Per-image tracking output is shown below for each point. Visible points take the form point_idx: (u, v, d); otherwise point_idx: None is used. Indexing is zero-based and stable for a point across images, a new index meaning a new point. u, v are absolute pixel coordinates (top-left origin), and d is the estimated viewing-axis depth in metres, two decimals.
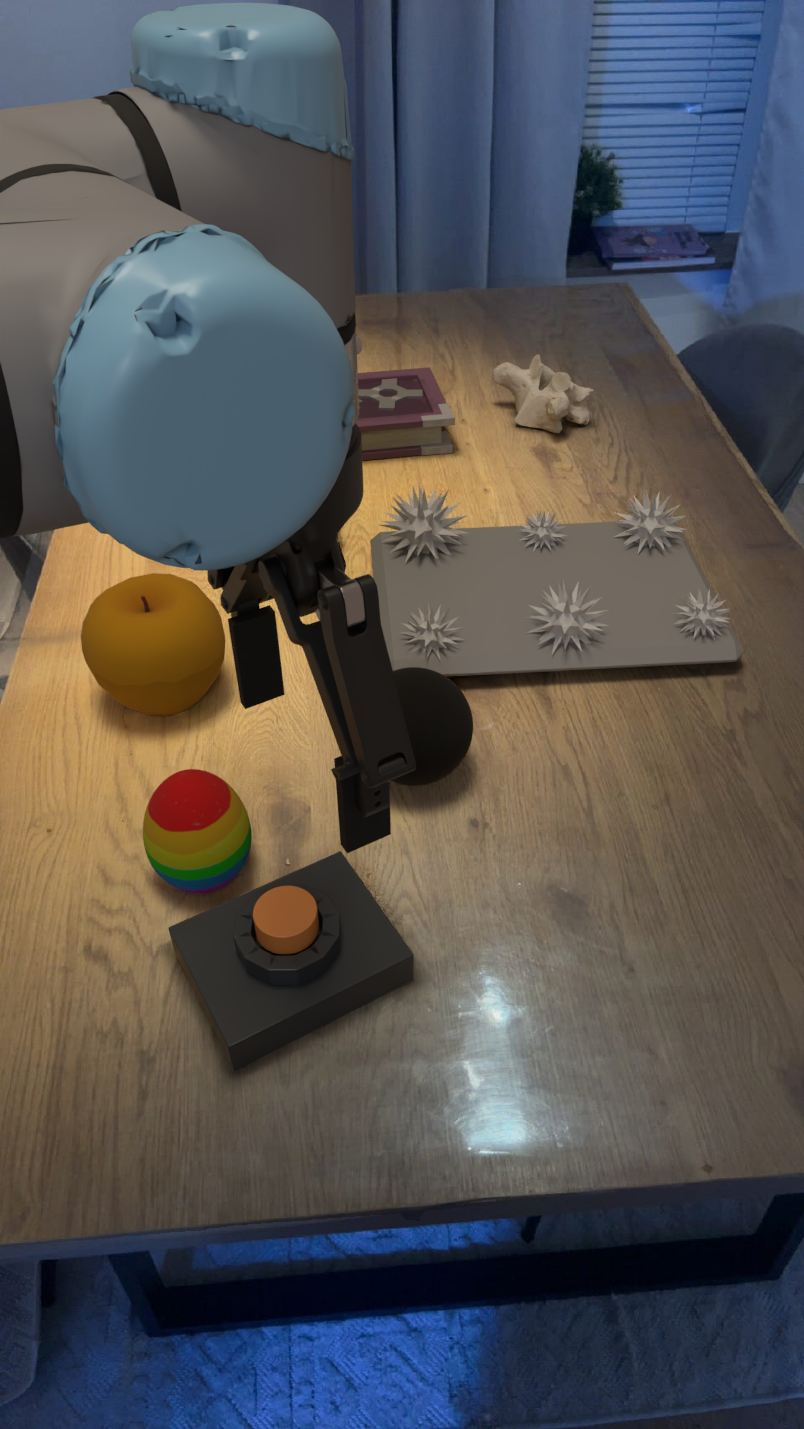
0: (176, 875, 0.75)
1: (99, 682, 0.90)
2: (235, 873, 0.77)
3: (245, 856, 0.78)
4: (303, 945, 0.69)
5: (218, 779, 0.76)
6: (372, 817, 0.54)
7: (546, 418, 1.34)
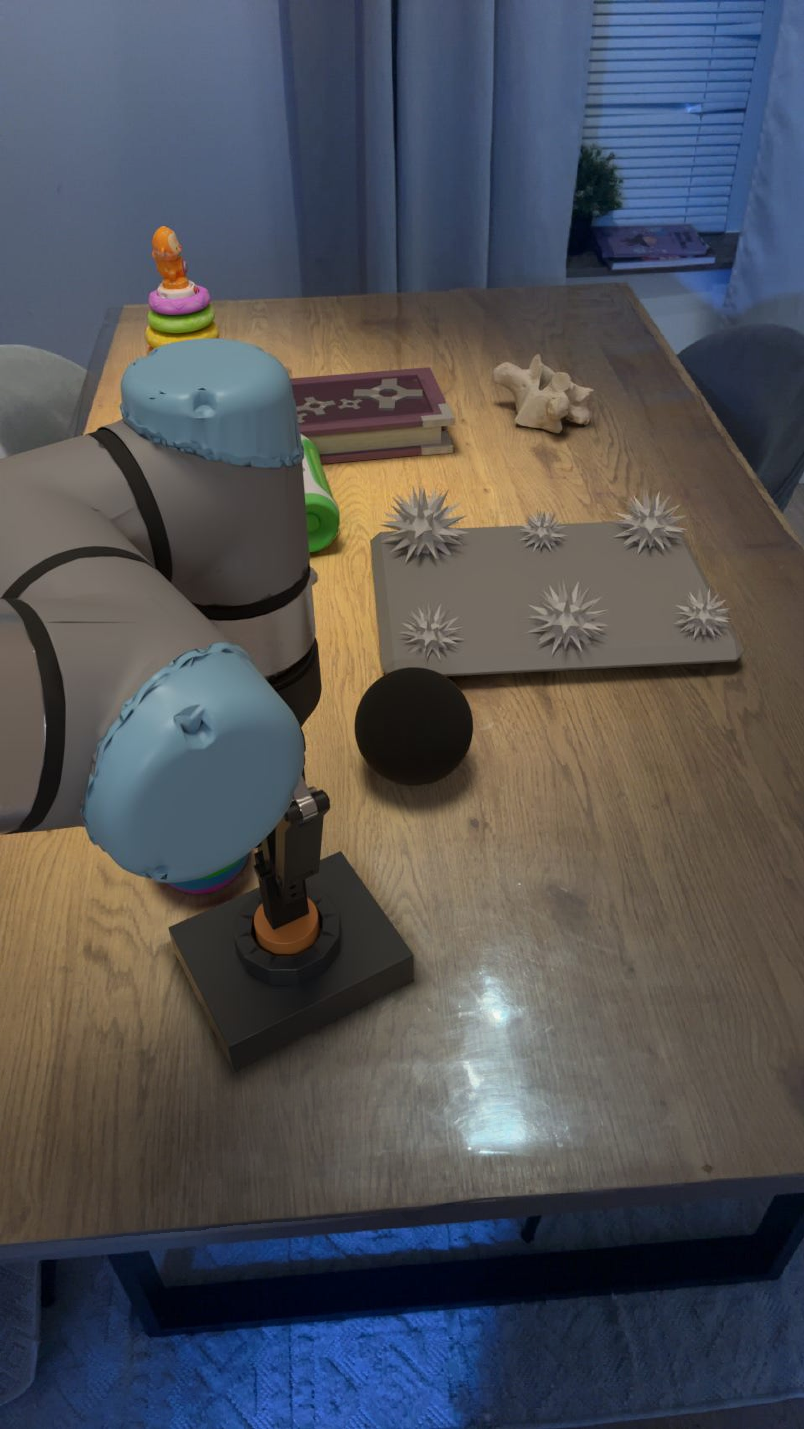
0: None
1: None
2: (235, 873, 0.77)
3: (245, 856, 0.78)
4: None
5: None
6: (292, 902, 0.68)
7: (546, 418, 1.34)
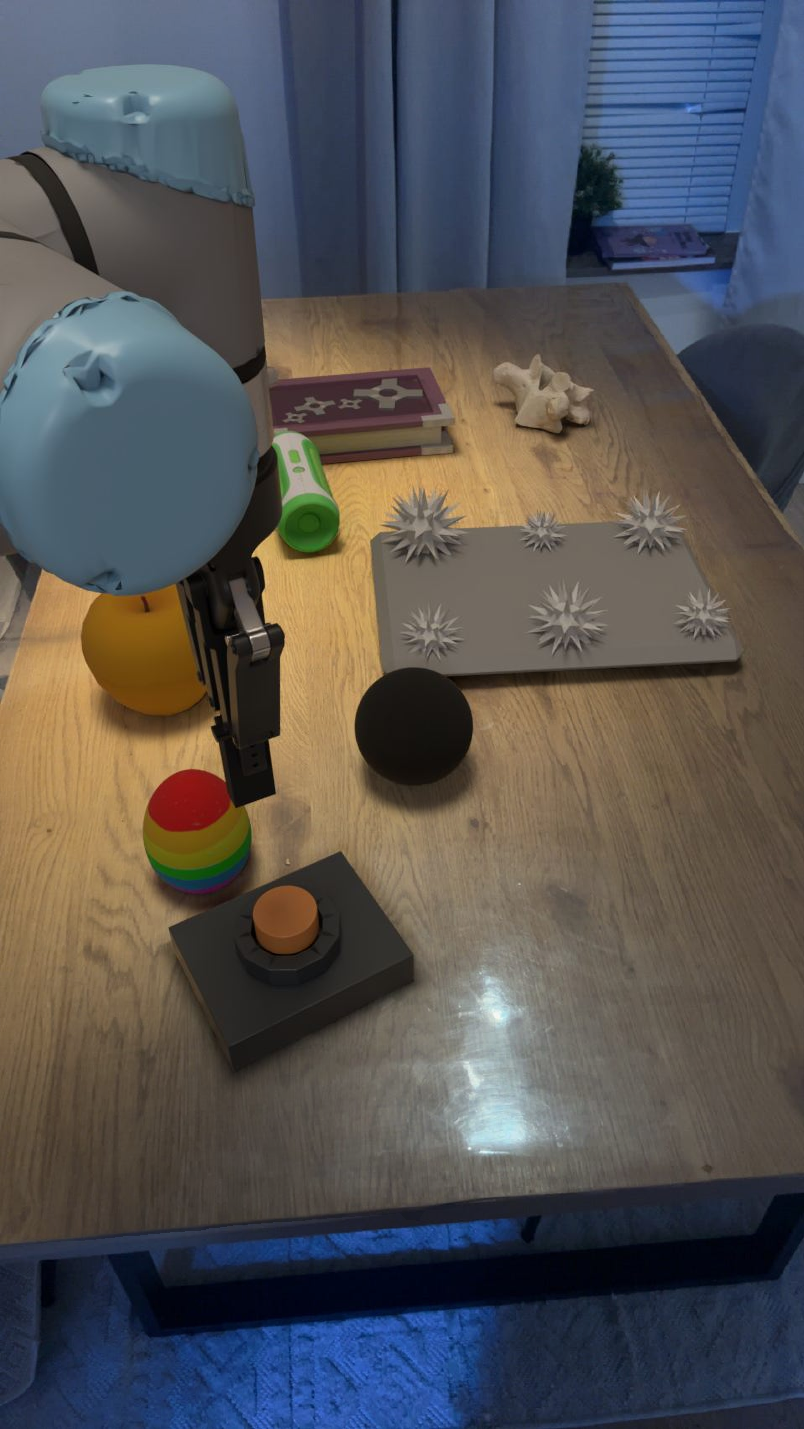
0: (176, 875, 0.75)
1: (99, 682, 0.90)
2: (235, 873, 0.77)
3: (245, 856, 0.78)
4: (303, 945, 0.69)
5: (218, 779, 0.76)
6: (256, 777, 0.62)
7: (546, 418, 1.34)
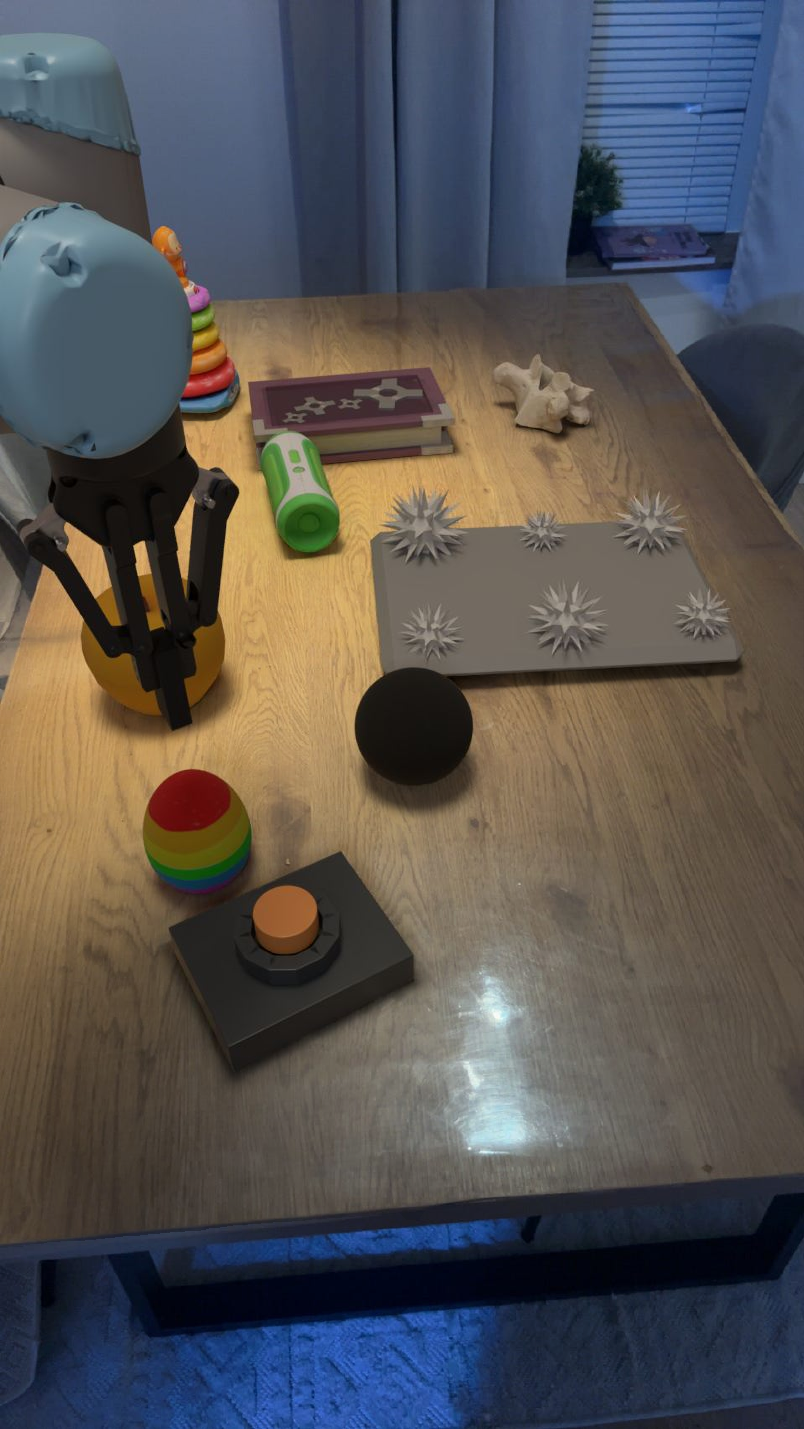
0: (176, 875, 0.75)
1: (99, 682, 0.90)
2: (235, 873, 0.77)
3: (245, 856, 0.78)
4: (303, 945, 0.69)
5: (218, 779, 0.76)
6: (161, 700, 0.68)
7: (546, 418, 1.34)
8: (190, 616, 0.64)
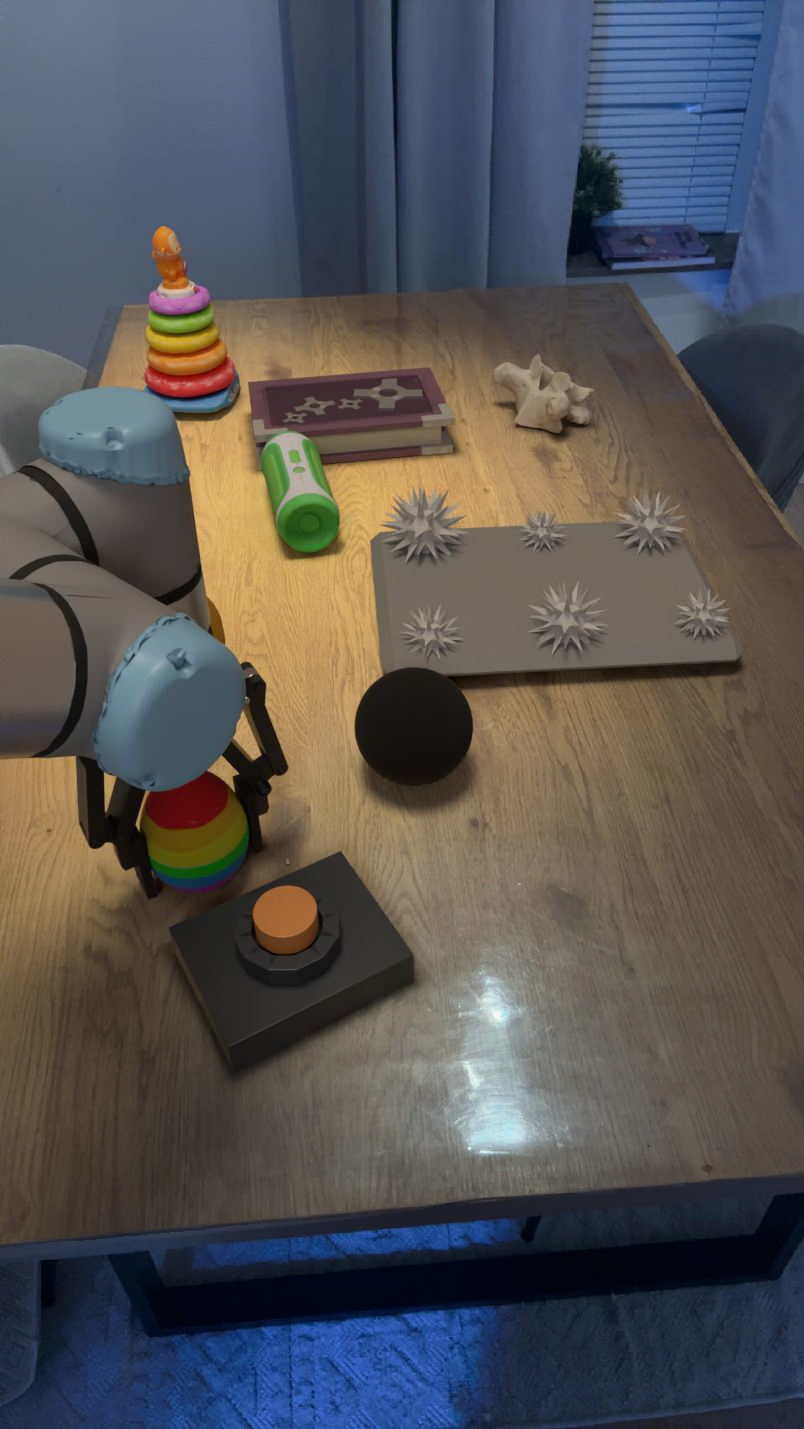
0: (173, 873, 0.75)
1: None
2: (232, 872, 0.77)
3: (242, 855, 0.77)
4: (303, 945, 0.69)
5: (215, 777, 0.76)
6: (139, 873, 0.77)
7: (546, 418, 1.34)
8: (266, 767, 0.77)
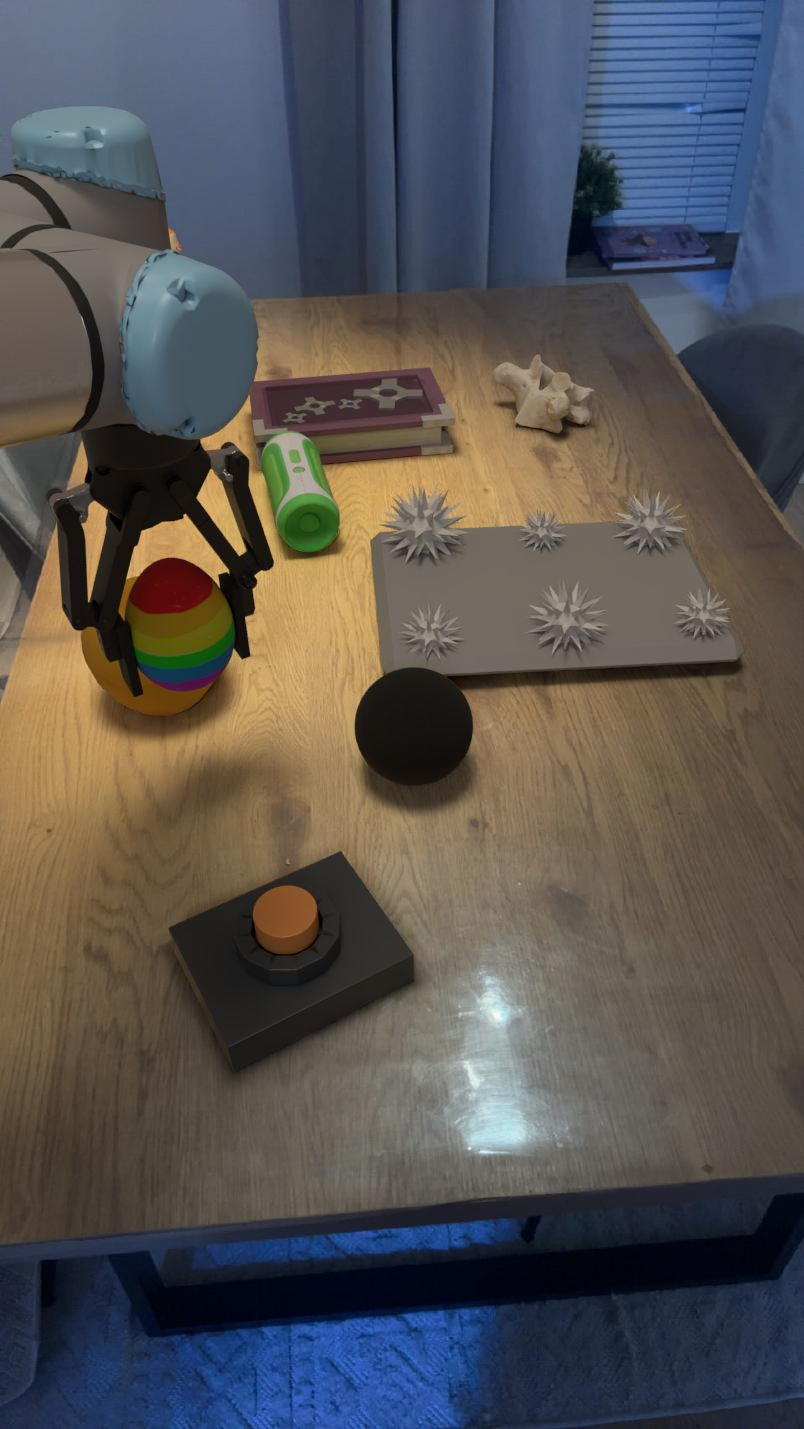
0: (157, 663, 0.74)
1: (99, 682, 0.90)
2: (218, 668, 0.76)
3: (228, 651, 0.77)
4: (303, 945, 0.69)
5: (200, 568, 0.75)
6: (124, 669, 0.76)
7: (546, 418, 1.34)
8: (252, 561, 0.76)
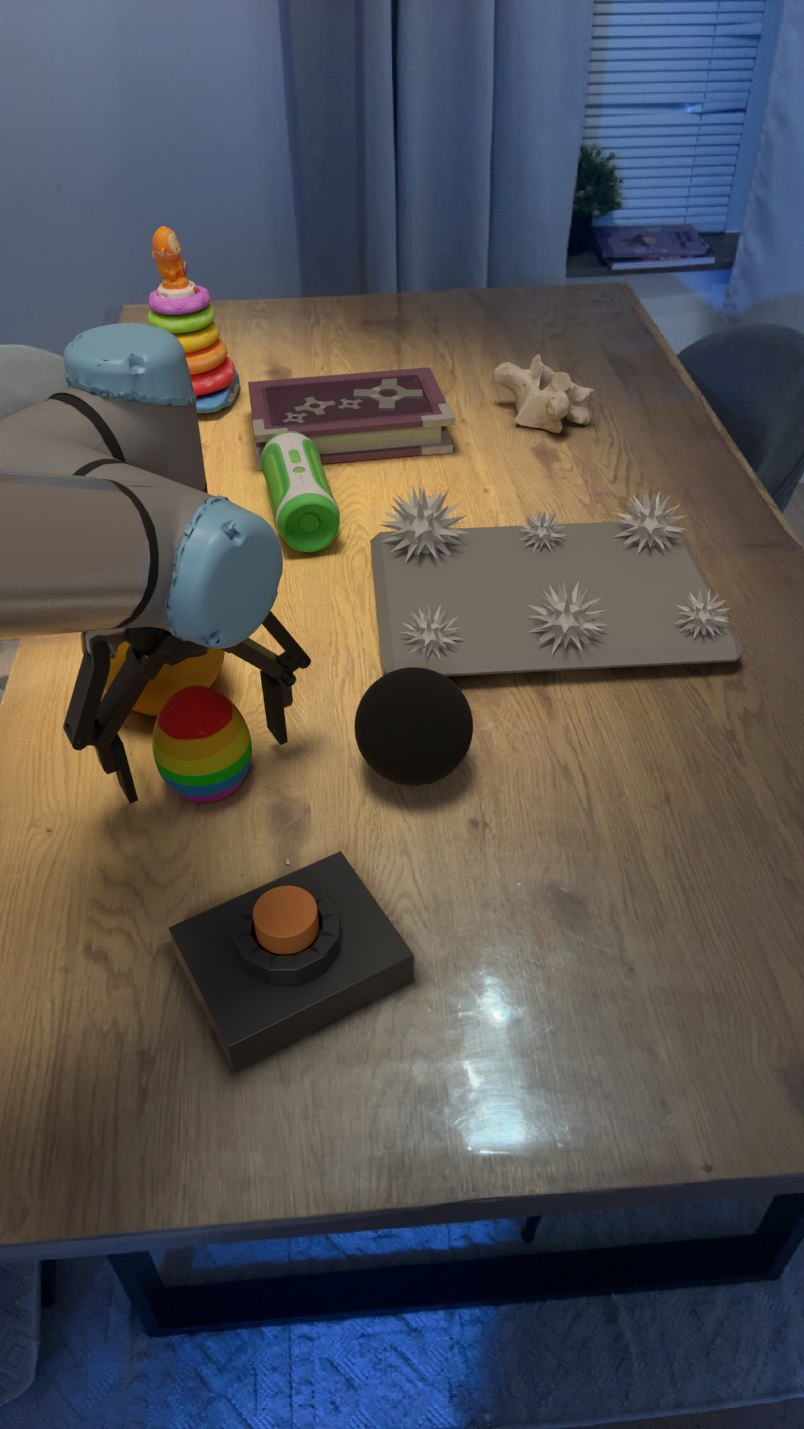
0: (183, 781, 0.82)
1: None
2: (237, 782, 0.85)
3: (246, 766, 0.85)
4: (303, 945, 0.69)
5: (221, 694, 0.83)
6: (120, 779, 0.82)
7: (546, 418, 1.34)
8: (291, 661, 0.84)
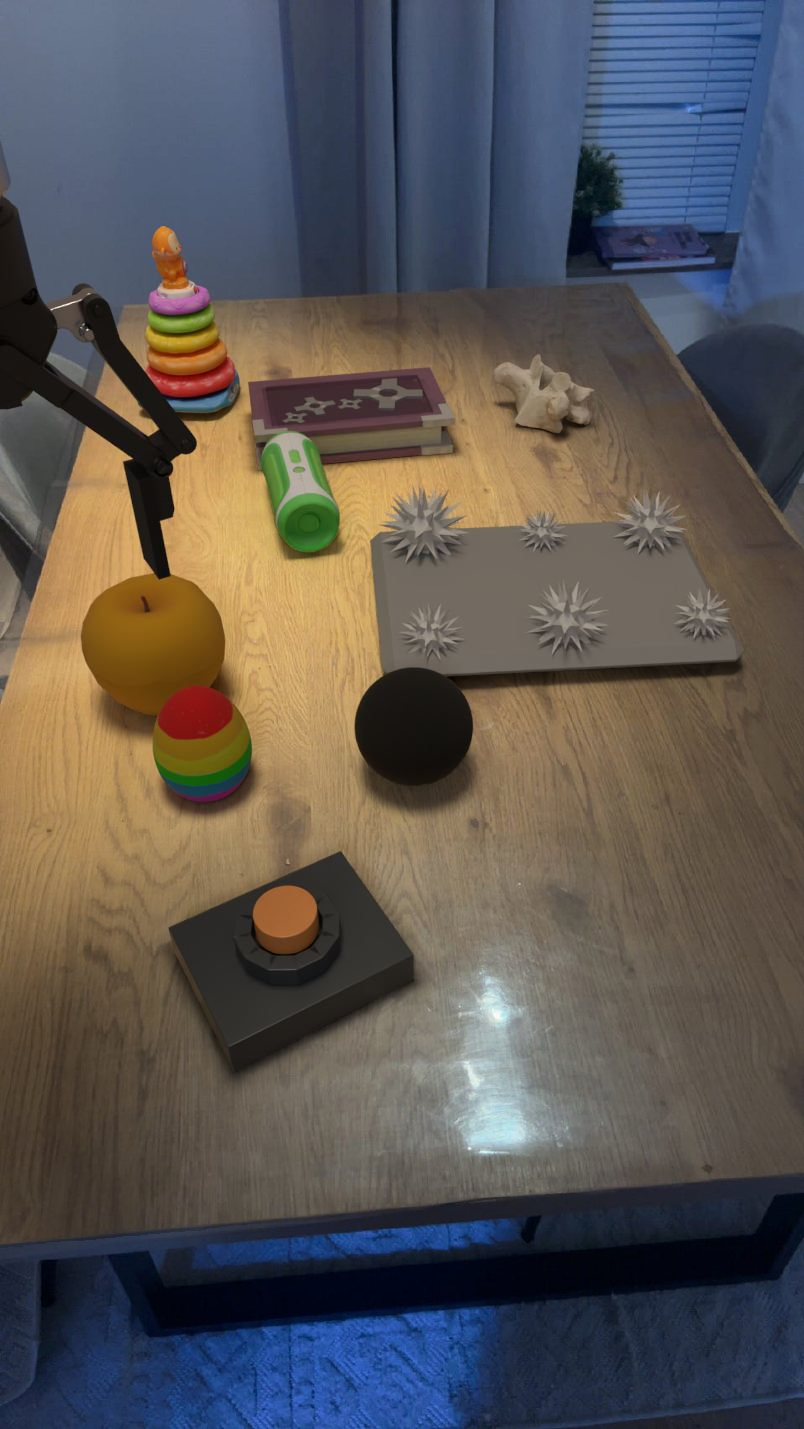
0: (183, 781, 0.82)
1: (99, 682, 0.90)
2: (237, 782, 0.85)
3: (246, 766, 0.85)
4: (303, 945, 0.69)
5: (221, 694, 0.83)
6: None
7: (546, 418, 1.34)
8: (166, 440, 0.56)
